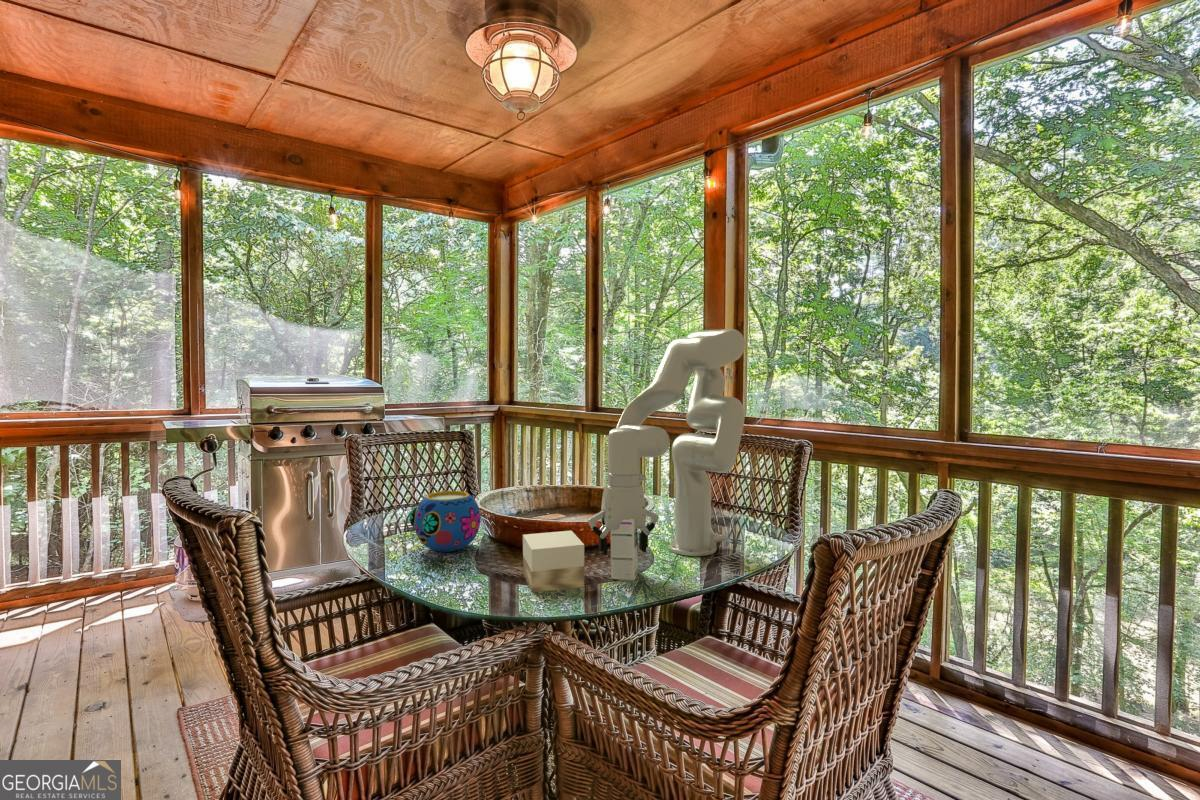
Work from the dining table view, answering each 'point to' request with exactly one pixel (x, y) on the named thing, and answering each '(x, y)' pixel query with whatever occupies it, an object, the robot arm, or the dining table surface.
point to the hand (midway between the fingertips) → (623, 552)
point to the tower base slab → (553, 578)
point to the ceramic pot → (446, 520)
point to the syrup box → (624, 551)
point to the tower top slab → (553, 550)
